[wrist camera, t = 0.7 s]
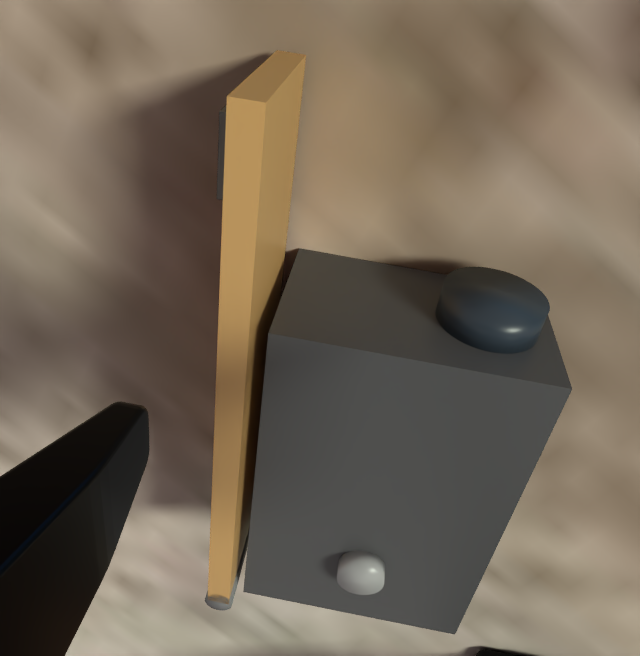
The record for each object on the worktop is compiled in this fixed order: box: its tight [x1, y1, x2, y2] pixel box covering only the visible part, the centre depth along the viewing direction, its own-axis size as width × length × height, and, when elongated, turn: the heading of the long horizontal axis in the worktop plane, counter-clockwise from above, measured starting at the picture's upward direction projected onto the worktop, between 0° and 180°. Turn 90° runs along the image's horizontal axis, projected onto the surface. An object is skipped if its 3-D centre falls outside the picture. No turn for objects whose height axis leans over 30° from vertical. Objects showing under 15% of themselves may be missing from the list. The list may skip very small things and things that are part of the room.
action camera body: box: [244, 249, 572, 634], centre depth 21 cm, size 13×8×6 cm, turn 173°
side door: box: [205, 50, 306, 610], centre depth 20 cm, size 18×1×5 cm, turn 173°
